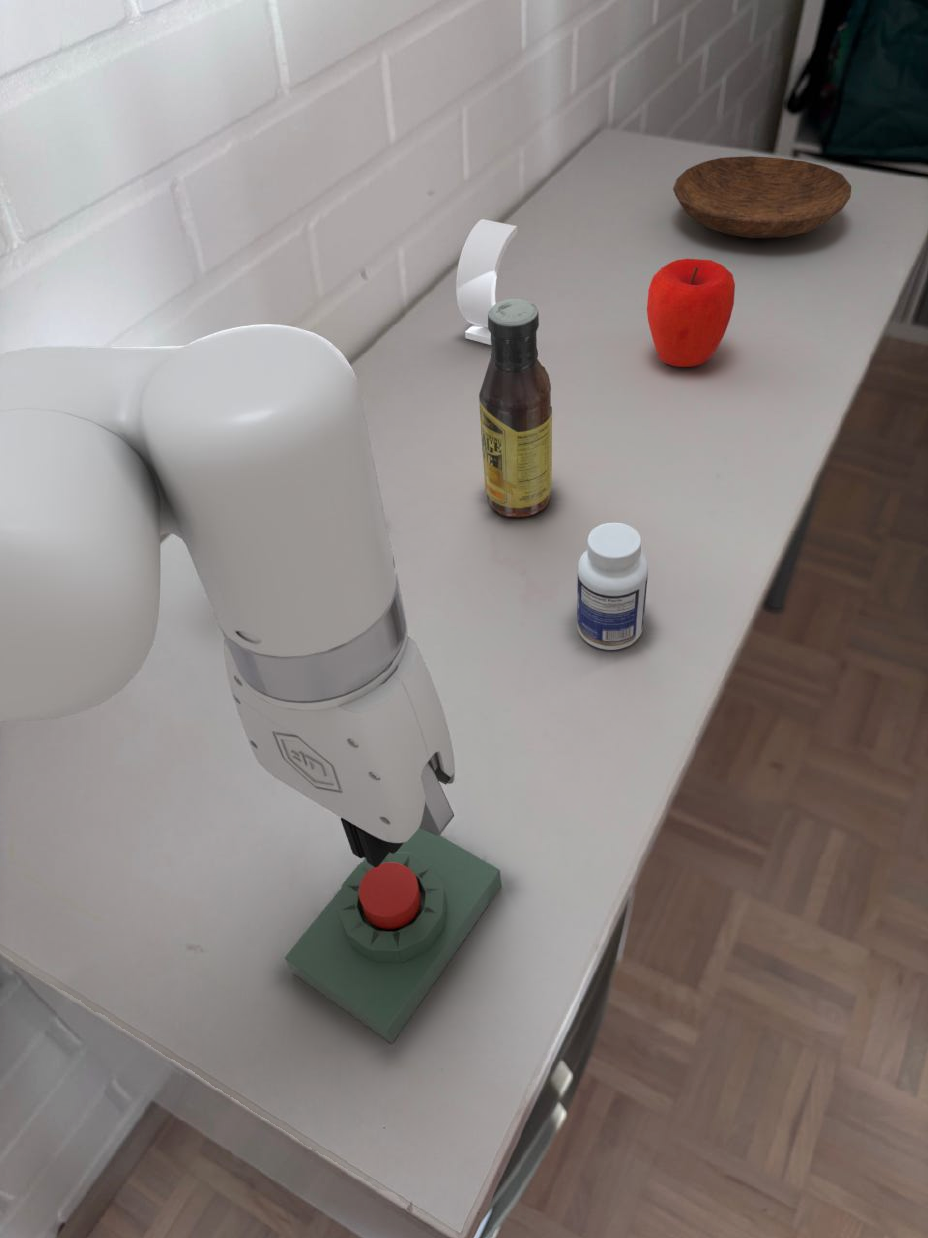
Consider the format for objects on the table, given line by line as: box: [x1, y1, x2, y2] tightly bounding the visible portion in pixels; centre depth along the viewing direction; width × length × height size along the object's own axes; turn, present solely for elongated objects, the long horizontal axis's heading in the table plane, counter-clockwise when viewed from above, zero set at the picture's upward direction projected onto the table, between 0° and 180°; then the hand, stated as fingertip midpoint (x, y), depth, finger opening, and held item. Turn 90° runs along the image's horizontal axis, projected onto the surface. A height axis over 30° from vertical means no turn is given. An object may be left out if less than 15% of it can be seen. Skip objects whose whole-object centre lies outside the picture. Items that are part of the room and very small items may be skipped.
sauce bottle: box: [478, 298, 553, 518], centre depth 82 cm, size 7×6×20 cm
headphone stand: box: [455, 218, 518, 346], centre depth 106 cm, size 5×6×12 cm
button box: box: [284, 828, 502, 1044], centre depth 60 cm, size 12×8×4 cm, turn 146°
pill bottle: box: [576, 522, 649, 651], centre depth 74 cm, size 5×5×10 cm
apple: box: [646, 258, 736, 368], centre depth 100 cm, size 9×9×11 cm
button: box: [359, 862, 421, 929], centre depth 58 cm, size 4×4×2 cm
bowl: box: [672, 155, 852, 239], centre depth 123 cm, size 20×22×5 cm
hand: (382, 841), depth 53 cm, fingers closed
